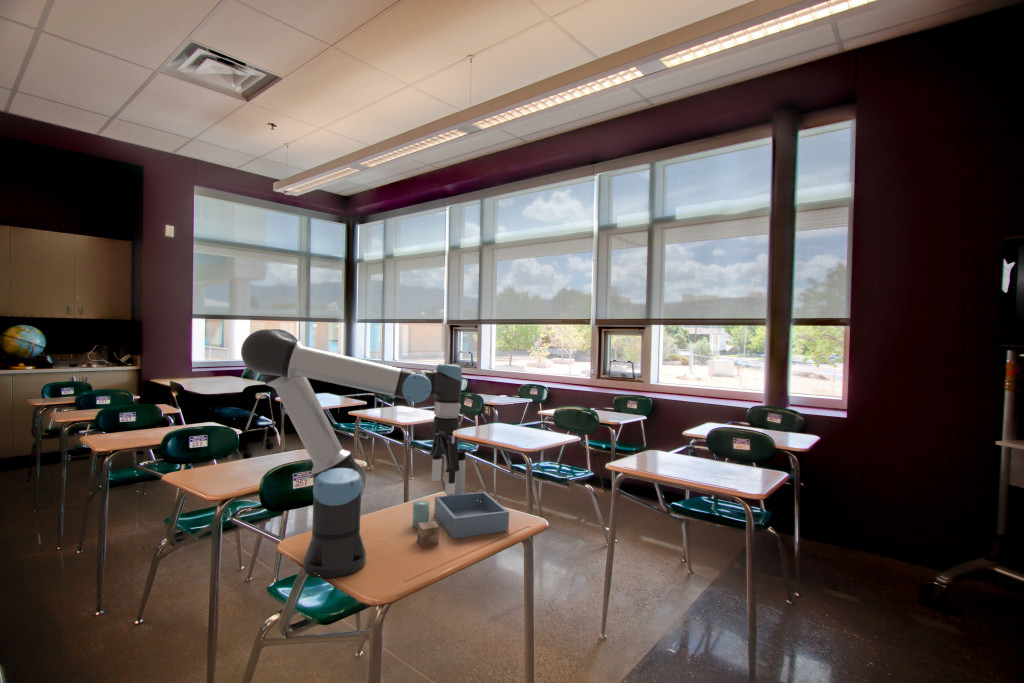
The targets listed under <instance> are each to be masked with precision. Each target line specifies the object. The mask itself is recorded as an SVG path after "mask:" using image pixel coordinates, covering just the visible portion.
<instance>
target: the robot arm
mask: <svg viewBox="0 0 1024 683" xmlns="http://www.w3.org/2000/svg"><path fill="white" fill-rule="evenodd" d="M240 350H241V351H240V356H241V359H242V361H243V364H244V365H245V366H246V368H248V369H249V370H251V371H253V372H254V373H257V374H260V376H261V378H262V380H263V381H264V383H265V385H266V386H267V387H268V386H269V387H270V388H271V387H272V388H273V389H274V390H275V392H276V394H277V396H278V397H279V400H280V402H281V404H282V405H283V407H284V409H285V411H286V413H287V416H288V417H289V419H290V421H291V423H292V425H293V427H294V428H295V431H296V432H297V434H298V437H299V438H300V440H301V443H302V444H303V447H304V448H305V450H306V452H307V454H308V456H309V459H310V460H311V461H312V464H313V465H312V468H311V472H310V473H311V475H312V477H313V479H314V483H313V487H312V494H313V498H312V499H313V503H312V524H311V525H312V526H311V528H312V531H311V539H310V542H309V545H308V547H307V550H306V552H305V556H304V557H303V571H304V573H306V575H309V576H312V577H315V578H319V579H333V578H340V577H345V576H348V575H352V574H353V573H357V572H358V571H360V570H361V569H362V568H363V567H365V565H366V563H367V562H366V560H367V558H366V557H367V553H366V548H365V546H364V541H363V539H362V538H363V537H362V535H361V510H362V509H361V507H362V506H361V505H362V497H363V494H364V490H365V486H366V475H365V471H364V469H363V468H362V467H361V465H360V464H359V463H358V462H356V460H355V457H354V456H353V454H352V452H351V451H350V450H347V449H344V448H343V447H342V445H341V443H340V440H339V439H338V436H337V435H336V433H335V431H334V429H333V426H332V425H331V422H330V420H329V419H328V417H327V415H326V413H325V411H324V409H323V407H322V405H321V403H320V401H319V398H318V397H317V395H316V393H315V391H314V389H313V387H312V385H311V383H310V381H309V379H312V380H316V381H322V382H325V383H326V382H327V383H332V384H335V385H340V386H345V387H350V388H355V389H359V390H364V391H368V392H373V393H378V394H383V395H388V396H391V397H396V398H399V399H405V400H407V401H409V402H411V403H422V402H425V401H426V400H427V399H428V398H430V396H434V409H433V413H434V415H435V416H434V417H433V429H434V437H433V442H432V446H431V450H430V456H431V458H432V466H431V482H437V481H441V478H442V463H443V462H442V461H443V460H442V459H443V458H444V457H443V453H444V456H445V462H446V469H445V487H444V494H445V496H447V494H455V481H456V472H457V471H459V459H458V449H459V448H458V436H457V435H454V431H457V430H459V428H460V418H459V416H460V411H461V410H460V409H461V408H462V404H461V397H462V396H461V395H462V383H463V382H462V381H463V380H462V377H463V376H462V374H463V372H462V367H461V366H460V365H458V364H453V363H451V364H450V363H439V364H437V366H436V369H433V370H426V369H412V368H411V369H409V368H404V369H403V368H398V367H395V366H390V365H385V364H381V363H378V362H373V361H369V360H365V359H360V358H355V357H352V356H351V357H350V356H347V355H342V354H339V353H333V352H330V351H326V350H325V351H324V350H321V349H316V348H312V347H308V346H304V345H303V342H302V341H299V340H298V338H296V337H295V336H294V335H293V334H292V333H290V332H289V331H287V330H283V329H277V328H273V329H269V328H268V329H259V330H256V331H254V332H252V333H251V334H249V335H248V336H247V337H246V338H245V340H244V341H243V343H242V345H241V349H240ZM315 573H316V574H315ZM318 575H320V576H318ZM322 577H323V578H322Z"/></svg>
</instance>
